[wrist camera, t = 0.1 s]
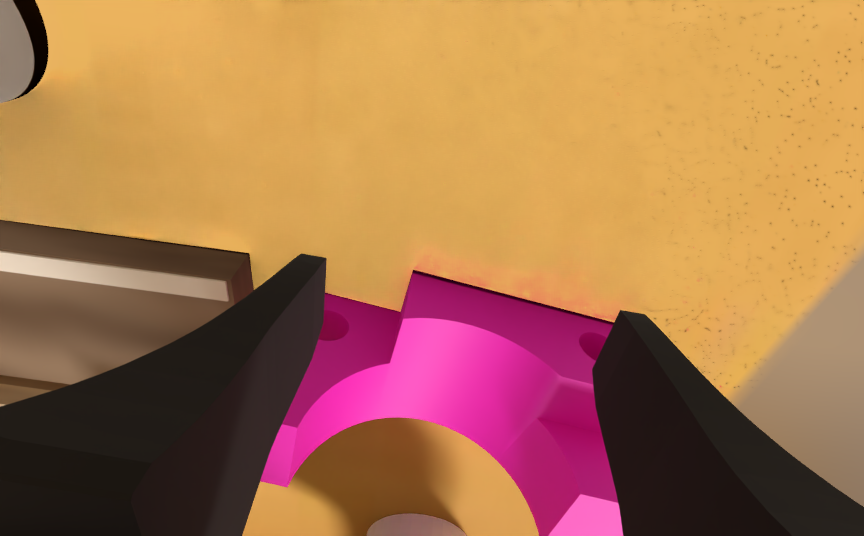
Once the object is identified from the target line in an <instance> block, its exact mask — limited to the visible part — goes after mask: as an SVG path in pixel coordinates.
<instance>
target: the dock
mask: <svg viewBox="0 0 864 536" xmlns="http://www.w3.org/2000/svg"><path fill="white" fill-rule="evenodd" d="M253 291H254V288H253V280H252V272H251V264H250V255H249V253H243V252H236V251H229V250H221V249H214V248H206V247H199V246H191V245H184V244H176V243H169V242H161V241H154V240H146V239H139V238H132V237H124V236H117V235H109V234H102V233H94V232H87V231H79V230H72V229H64V228H57V227H49V226H42V225H35V224H27V223H20V222H12V221H5V220H0V375H5V376H12V377H20V378H27V379H34V380H42V381H49V382H56V383H64V384H74V383H77V382H80V381H82V380H85V379H88V378H91V377H93V376H96V375H99V374H101V373H104V372H106V371H109V370H111V369H114V368H116V367H119V366H121V365H124V364H126V363H128V362H131V361H133V360H135V359H137V358H139V357H141V356H144V355H146V354H148V353H150V352H152V351H155V350H157V349H159V348H161V347H163V346H165V345H167V344H169V343H171V342H173V341H175V340H177V339H179V338H181V337H183V336H185V335H186V334H188V333H190V332H192V331H194V330H196V329H197V328H199V327H201V326H202V325H204V324H206V323H207V322H209V321H210V320H212V319H214V318H215V317H217V316H218V315H220V314H221V313H223V312H224V311H226V310H227V309H229V308H230V307H232V306H233V305H235V304H236V303H238V302H239V301H240V300H242V299H243V298H245V297H246V296H247V295H249V294H250V293H251V292H253Z"/></svg>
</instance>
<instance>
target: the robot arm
mask: <svg viewBox="0 0 864 536" xmlns="http://www.w3.org/2000/svg"><path fill="white" fill-rule="evenodd" d="M325 279H326V258H323V257H317V256H312V255H306V254H300V255H299V256H297V257H296V258H295V259H293V260H292V261H291V262H290V263H288V264H287V265H286V266H285V267H283V268H282V269H281V270H280V271H279V272H277V273H276V274H275V275H273V276H272V277H271V278H270V279H268V280H267V281H266V282H265V283H263V284H262V285H261V286H259V287H258V288H257V289H255V290H254V291H253V292H251V293H250V294H249V295H247V296H246V297H245V298H243V299H242V300H240V301H239V302H238V303H236V304H235V305H233V306H232V307H230V308H229V309H227V310H226V311H224V312H223V313H221V314H220V315H218V316H217V317H215V318H214V319H212V320H210V321H209V322H207V323H206V324H204V325H202V326H201V327H199V328H197V329H196V330H194V331H192V332H190V333H188V334H186V335H185V336H183V337H181V338H179V339H177V340H175V341H173V342H171V343H169V344H167V345H165V346H163V347H161V348H159V349H157V350H155V351H152V352H150V353H148V354H146V355H144V356H141V357H139V358H137V359H135V360H133V361H131V362H128V363H126V364H124V365H121V366H119V367H116V368H114V369H111V370H109V371H106V372H104V373H101V374H99V375H96V376H93V377H91V378H88V379H85V380H82V381H80V382H77V383H74V384H71V385H68V386H65V387H62V388H59V389H57V390H53V391H50V392H47V393H43V394H40V395H37V396H34V397H30V398H27V399H24V400H21V401H17V402H14V403H11V404H7V405H4V406H0V536H242V534H243V531H244V528H245V525H246V522H247V519H248V516H249V513H250V510H251V507H252V503H253V500H254V497H255V494H256V491H257V488H258V485H259V483H260V480H261V477H262V474H263V471H264V468H265V465H266V462H267V459H268V456H269V453H270V451H271V448H272V446H273V443H274V441H275V439H276V436H277V434H278V432H279V429H280V427H281V425H282V423H283V421H284V419H285V416H286V414H287V412H288V410H289V408H290V406H291V404H292V401H293V399H294V397H295V395H296V393H297V391H298V388H299V386H300V384H301V382H302V380H303V378H304V375H305V373H306V371H307V369H308V367H309V364H310V362H311V360H312V358H313V354H314V351H315V348H316V345H317V342H318V339H319V336H320V332H321V329H322V326H323V322H324V301H325ZM592 375H593V388H594V397H595V406H596V411H597V416H598V420H599V424H600V428H601V433H602V437H603V441H604V445H605V449H606V453H607V457H608V461H609V465H610V469H611V473H612V477H613V481H614V486H615V490H616V494H617V499H618V504H619V509H620V516H621V523H622V531H623V536H864V507H863V506H861V505H860V504H858V503H857V502H855V501H854V500H852V499H851V498H849V497H848V496H847V495H845V494H844V493H842V492H841V491H839V490H838V489H836V488H835V487H833V486H832V485H831V484H829V483H828V482H827V481H825V480H824V479H823V478H821V477H820V476H818V475H817V474H816V473H814V472H813V471H812V470H810V469H809V468H808V467H806V466H805V465H804V464H802V463H801V462H800V461H798V460H797V459H796V458H794V457H793V456H792V455H791V454H789V453H788V452H787V451H785V450H784V449H783V448H782V447H780V446H779V445H778V444H777V443H776V442H775V441H773V440H772V439H771V438H770V437H769V436H767V435H766V434H765V433H764V432H763V431H762V430H760V429H759V428H758V427H757V426H756V425H755V424H753V423H752V422H751V421H750V420H749V419H748V418H747V417H746V416H744V415H743V414H742V413H741V412H740V411H739V410H738V409H737V408H736V407H735V406H734V405H733V404H732V403H731V402H730V401H729V400H728V399H726V398H725V397H724V396H723V395H722V394H721V393H720V392H719V391H718V390H717V389H716V388H715V387H714V386H713V385H712V384H711V383H710V382H709V381H708V380H707V379H706V378H705V377H704V376H703V375H702V374H701V373H700V372H699V370H698V369H697V368H696V367H695V366H694V365H693V364H692V363H691V362H690V361H689V360H688V359H687V358H686V357H685V356H684V355H683V353H682V352H681V351H680V350H679V349H678V348H677V347H676V346H675V345H674V344H673V343H672V342H671V341H670V339H669V338H668V337H667V336H666V335H665V334H664V333H663V332H662V331H661V330H660V329H659V328H658V327H657V326H656V325H655V324H654V323H653V322H652V321H651V320H650V319H649V318H648V317H647V316H646V315H645V314H639V313H634V312H628V311H622V310H620V312H619V314H618V316H617V318H616V320H615V322H614V324H613V327H612V329H611V331H610V333H609V335H608V337H607V339H606V341H605V343H604V345H603V347H602V350H601V352H600V354H599V356H598V358H597V360H596V362H595V364H594V366H593V368H592ZM366 536H467V535H466V534H465V533H464V532H463V531H462V530H461V529H460V528H459V527H457V526H455V525H454V524H452V523H450V522H448V521H446V520H444V519H440V518H437V517H434V516H429V515H424V514H413V513H410V514H396V515H391V516H387V517H384V518H382V519H380V520H378V521H376V522H375V523H374V524H372V525H371V526H370V528H369V529H368V532H367V535H366Z"/></svg>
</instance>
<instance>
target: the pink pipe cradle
mask: <svg viewBox="0 0 864 536" xmlns="http://www.w3.org/2000/svg"><path fill="white" fill-rule="evenodd" d="M613 324H614V322H610V321H606V320H602V319H599V318H595V317H591V316H587V315H583V314H580V313H576V312H572V311H568V310H564V309H561V308H557V307H553V306H549V305H545V304H542V303H538V302H534V301H530V300H526V299H523V298H519V297H515V296H511V295H507V294H504V293H500V292H496V291H492V290H488V289H485V288H481V287H477V286H473V285H469V284H466V283H462V282H458V281H454V280H450V279H447V278H443V277H439V276H435V275H431V274H428V273H424V272H420V271H416V270H413V272H412V275H411V279H410V282H409V286H408V289H407V292H406V296H405V299H404V302H403V306H402V309H401V312H399V311H395V310H391V309H387V308H383V307H379V306H375V305H371V304H367V303H364V302H360V301H356V300H352V299H348V298H344V297H340V296H336V295H332V294H328V293H325V301H324V322H323V326H322V329H321V332H320V336H319V339H318V342H317V345H316V348H315V351H314V354H313V358H312V360H311V362H310V364H309V367H308V369H307V371H306V373H305V375H304V378H303V380H302V382H301V384H300V386H299V388H298V391H297V393H296V395H295V397H294V399H293V401H292V404H291V406H290V408H289V410H288V412H287V414H286V416H285V419H284V421H283V423H282V425H281V427H280V429H279V432H278V434H277V436H276V439H275V441H274V443H273V446H272V448H271V451H270V453H269V456H268V459H267V462H266V465H265V468H264V471H263V474H262V477H261V480H260V481H262V482H266V483H271V484H275V485H280V486H284V487H288V485H289V483H290V481H291V480H292V478H293V476H294V474H295V473H296V471H297V470H298V468H299V467H300V466H301V464H302V463H303V462H304V461H305V459H306V458H307V457H308V456H309V455H310V454H311V453H312V452H313V451H314V450H315V449H316V448H317V447H318V446H319V445H321V444H322V443H323V442H325V441H326V440H327V439H329V438H330V437H332V436H333V435H335V434H337V433H338V432H340V431H342V430H344V429H346V428H348V427H351V426H353V425H356V424H359V423H362V422H366V421H370V420H374V419H381V418H394V417H401V418H413V419H420V420H425V421H429V422H433V423H436V424H439V425H442V426H445V427H447V428H450V429H452V430H454V431H456V432H458V433H460V434H462V435H464V436H466V437H467V438H469V439H471V440H472V441H474V442H475V443H477V444H478V445H479V446H481V447H482V448H483V449H485V450H486V451H487V452H488V453H489V454H490V455H491V456H493V457H494V458H495V459H496V460H497V461H498V462H499V463H500V464H501V465H502V467H503V468H504V469H505V470H506V471H507V472H508V474H509V475H510V476H511V477H512V479H513V480H514V481H515V483H516V484H517V486H518V487H519V489H520V491H521V492H522V494H523V496H524V498H525V499H526V501H527V503H528V505H529V508H530V510H531V512H532V514H533V517H534V520H535V523H536V526H537V529H538V532H539V536H623V531H622V523H621V516H620V509H619V504H618V499H617V494H616V490H615V486H614V481H613V477H612V473H611V469H610V465H609V461H608V457H607V453H606V449H605V445H604V441H603V437H602V433H601V428H600V424H599V420H598V416H597V411H596V406H595V397H594V388H593V375H592V368H593V366H594V364H595V362H596V360H597V358H598V356H599V354H600V352H601V350H602V347H603V345H604V343H605V341H606V339H607V337H608V335H609V333H610V331H611V329H612V327H613Z"/></svg>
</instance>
